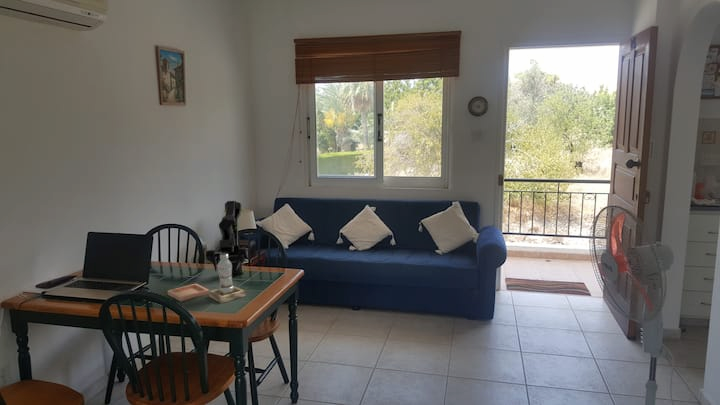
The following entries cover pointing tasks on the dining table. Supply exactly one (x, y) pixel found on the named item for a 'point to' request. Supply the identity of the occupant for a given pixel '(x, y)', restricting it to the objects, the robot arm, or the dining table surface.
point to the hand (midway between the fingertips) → (226, 270)
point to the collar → (216, 295)
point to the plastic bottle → (225, 275)
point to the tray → (188, 292)
